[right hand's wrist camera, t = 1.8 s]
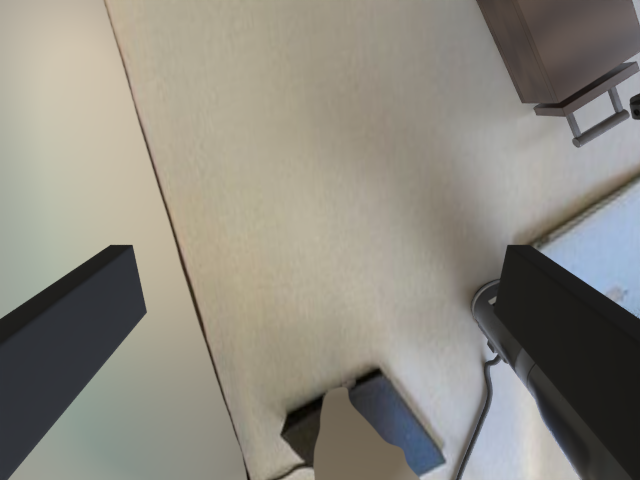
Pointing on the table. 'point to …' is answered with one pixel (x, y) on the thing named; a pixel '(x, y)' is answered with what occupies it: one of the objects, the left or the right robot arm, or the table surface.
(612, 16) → the cabinet
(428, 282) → the table surface
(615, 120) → the drawer
